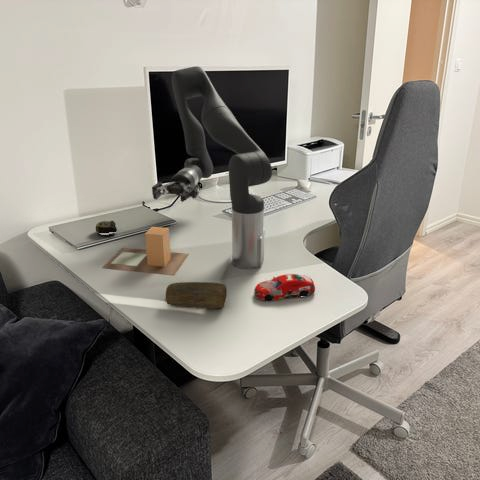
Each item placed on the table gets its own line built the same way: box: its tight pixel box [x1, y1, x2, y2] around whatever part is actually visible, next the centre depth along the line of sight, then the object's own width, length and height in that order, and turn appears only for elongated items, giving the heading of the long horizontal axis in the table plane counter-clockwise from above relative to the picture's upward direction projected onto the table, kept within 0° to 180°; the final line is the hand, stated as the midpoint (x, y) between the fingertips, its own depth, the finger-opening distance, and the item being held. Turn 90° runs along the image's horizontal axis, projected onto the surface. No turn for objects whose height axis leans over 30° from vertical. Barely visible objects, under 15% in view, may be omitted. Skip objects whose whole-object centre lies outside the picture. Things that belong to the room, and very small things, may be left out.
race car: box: [253, 273, 316, 302], centre depth 121 cm, size 16×7×5 cm, turn 101°
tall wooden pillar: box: [144, 226, 171, 267], centre depth 133 cm, size 5×5×10 cm
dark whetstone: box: [165, 281, 228, 309], centre depth 115 cm, size 15×7×7 cm, turn 89°
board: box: [101, 247, 190, 276], centre depth 135 cm, size 22×14×8 cm, turn 78°
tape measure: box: [95, 220, 118, 234], centre depth 158 cm, size 7×7×4 cm
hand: (168, 197), depth 139 cm, fingers open, 8 cm apart
